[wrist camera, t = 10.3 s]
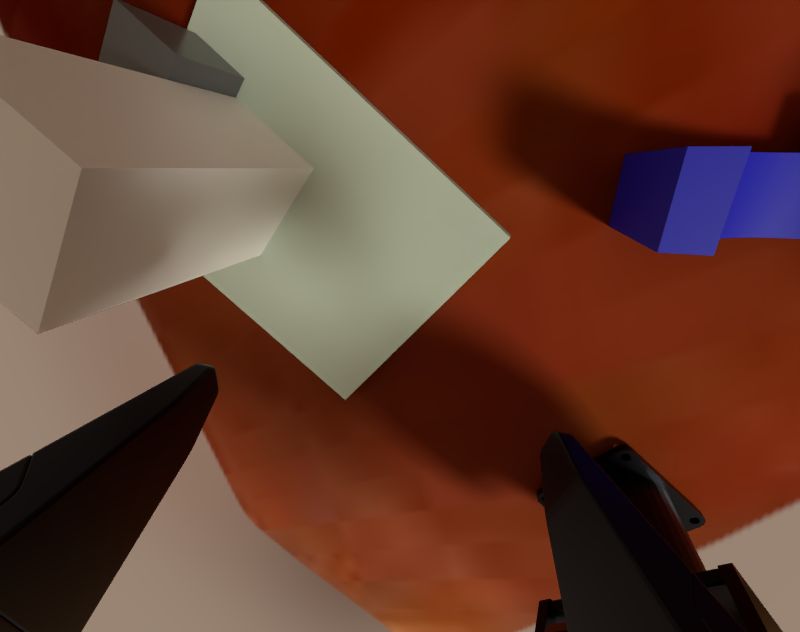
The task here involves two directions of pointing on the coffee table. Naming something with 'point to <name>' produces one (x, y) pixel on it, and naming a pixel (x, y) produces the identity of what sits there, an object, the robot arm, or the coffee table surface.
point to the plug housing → (125, 184)
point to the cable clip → (706, 197)
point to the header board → (322, 191)
